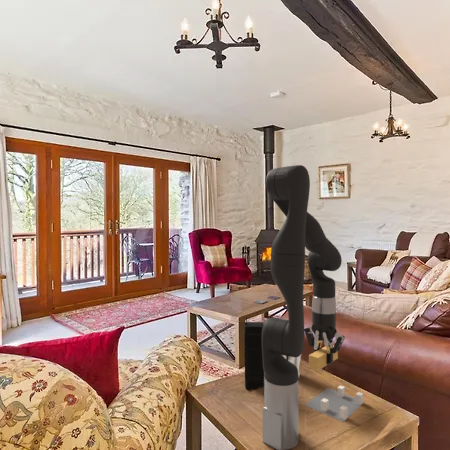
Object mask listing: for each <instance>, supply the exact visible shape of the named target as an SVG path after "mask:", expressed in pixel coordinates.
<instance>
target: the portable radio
mask: <svg viewBox="0 0 450 450" xmlns="http://www.w3.org/2000/svg"><path fill="white" fill-rule="evenodd" d="M247 318H248V317H246V316H245V322H244V325H243V327H244V329H243V331H244V332H243V333H244V336H243V337H244V338H243V339H244V341H243V342H244V387H245V389H246V390H257V389H259V388H264V370H263V355H262V328H263V325H264V323H265V321H264V322H263V321H258V322H257V321H247V320H248V319H247Z"/></svg>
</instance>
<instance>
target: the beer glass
mask: <svg viewBox="0 0 450 450" xmlns="http://www.w3.org/2000/svg"><path fill="white" fill-rule="evenodd" d="M282 356H283V357H284V358H285V359H287V360H288V361H289V362H291V363H293V364H294V365H295V366H296V367H297V369H298V378H300V377H301V376H300V364H301V358H302V354H301V355H300V356H299V357H290V356H285V355H282Z"/></svg>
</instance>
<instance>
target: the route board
mask: <svg viewBox="0 0 450 450" xmlns="http://www.w3.org/2000/svg"><path fill="white" fill-rule="evenodd" d="M364 403H365V401H364V393H363V392H360V391H357V392H356V393H355V396H351V395H348V394H346V387H345V386H344V385H339V386H337V390H336V389H333V388H329V387H327V388H325V389H324V390H323V391H322V392H320V393H318V394H317V395H316V396H314V397H313V398H312V399H311V400H309V401H308V402H307V403H305V404H304V406H306V407H308V408H310V409H313V410H315V411H317V412H319V413H322V414H324V415H326V416H328V417H330V418H333V419H335V420H337V421H340V422H342V423H344V422H345V421H346V420H348V419H349V418H350V417H351V416H352V415H353V414H354V413H355V412H356V411H357V410H358V409H359V408H360V407H361V406H362V405H363V404H364Z"/></svg>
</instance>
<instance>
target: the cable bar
mask: <svg viewBox="0 0 450 450" xmlns="http://www.w3.org/2000/svg"><path fill="white" fill-rule="evenodd" d="M334 345H335V344H333V347H334ZM326 354H327V349H326V346H325V345H324V347H322V348H321V347H320V349H319V350H317V351H316V352H315V351H314V352H312V353H310V354H309V355H308V368H309V369H312V370H315V371H318V372H319V371H320V370H322V369H323V368H324V367H326V366H329V365H328V364H326ZM338 359H339V351H338V352H336V353H333V362H335V361H336V360H338Z"/></svg>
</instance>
